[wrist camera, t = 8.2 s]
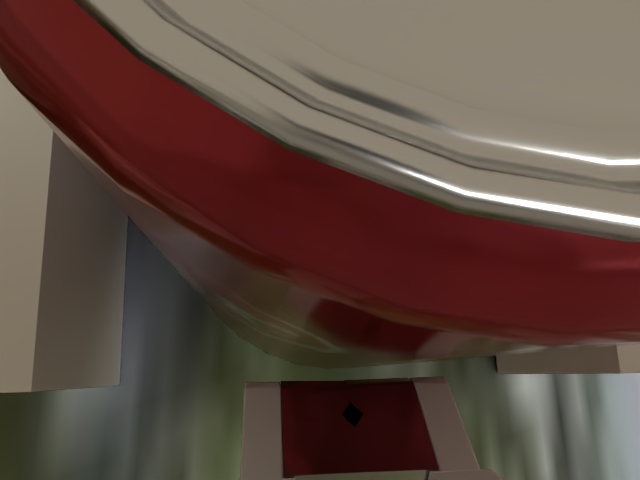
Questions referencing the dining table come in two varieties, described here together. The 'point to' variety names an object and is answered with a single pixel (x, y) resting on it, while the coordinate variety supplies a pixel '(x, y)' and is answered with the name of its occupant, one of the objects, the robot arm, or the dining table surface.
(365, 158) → the soda can
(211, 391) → the dining table surface
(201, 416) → the dining table surface
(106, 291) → the beige angled piece
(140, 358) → the dining table surface
